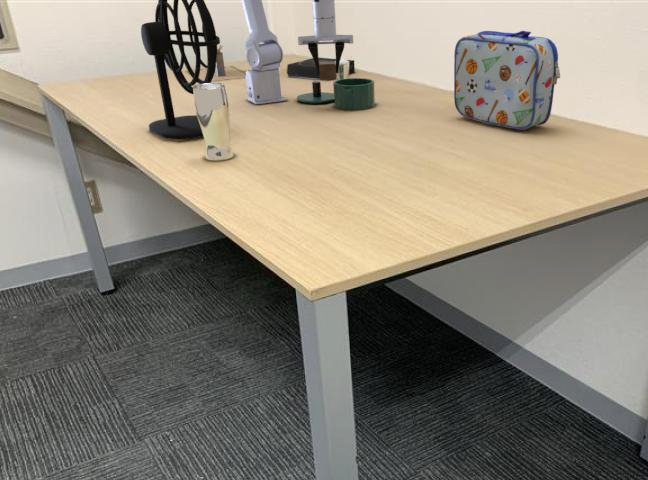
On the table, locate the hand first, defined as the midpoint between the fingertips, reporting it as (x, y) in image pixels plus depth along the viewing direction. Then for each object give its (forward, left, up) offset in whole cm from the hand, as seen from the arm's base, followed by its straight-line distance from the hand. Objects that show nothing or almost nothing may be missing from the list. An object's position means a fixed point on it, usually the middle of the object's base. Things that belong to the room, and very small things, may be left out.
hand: (327, 73), depth 181 cm
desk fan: (-40, -3, -10) cm, 41 cm away
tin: (+8, 0, -9) cm, 12 cm away
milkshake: (+14, +21, -10) cm, 27 cm away
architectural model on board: (-10, +73, -10) cm, 75 cm away
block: (0, 0, -1) cm, 1 cm away
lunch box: (+30, -40, -10) cm, 50 cm away
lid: (+2, +12, -9) cm, 15 cm away
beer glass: (-40, -30, -10) cm, 51 cm away
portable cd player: (+20, +50, -10) cm, 55 cm away
